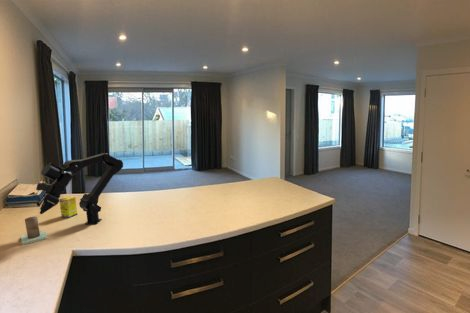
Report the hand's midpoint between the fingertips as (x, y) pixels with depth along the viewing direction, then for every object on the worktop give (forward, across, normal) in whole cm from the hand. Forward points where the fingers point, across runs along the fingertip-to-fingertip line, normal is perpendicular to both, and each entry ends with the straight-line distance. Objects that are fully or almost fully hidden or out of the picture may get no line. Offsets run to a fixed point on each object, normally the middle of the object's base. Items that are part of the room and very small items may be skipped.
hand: (40, 211), depth 149 cm
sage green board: (+12, -2, +5) cm, 13 cm away
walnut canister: (+12, -2, +4) cm, 12 cm away
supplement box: (0, -26, +17) cm, 31 cm away
